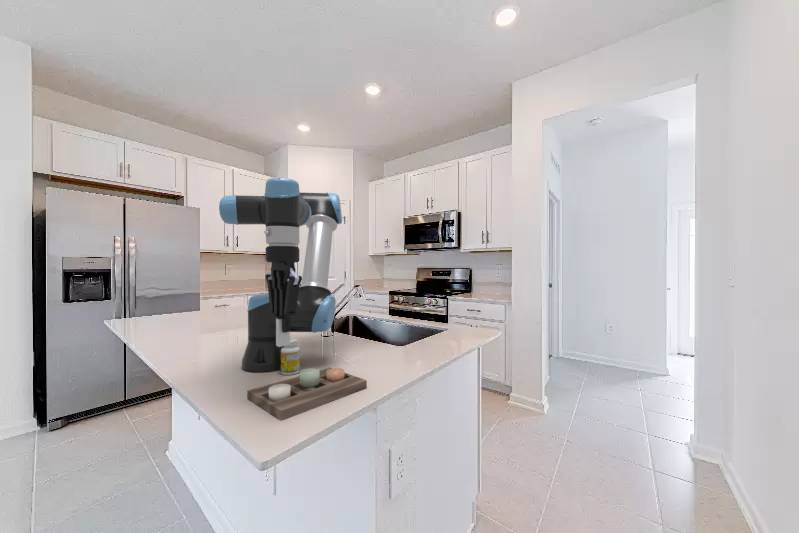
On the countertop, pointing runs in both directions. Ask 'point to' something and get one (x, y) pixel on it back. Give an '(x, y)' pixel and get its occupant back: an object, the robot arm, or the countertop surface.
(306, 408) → the wooden tray
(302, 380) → the sage button
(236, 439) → the countertop surface
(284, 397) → the cream button
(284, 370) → the supplement bottle
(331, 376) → the terracotta button
